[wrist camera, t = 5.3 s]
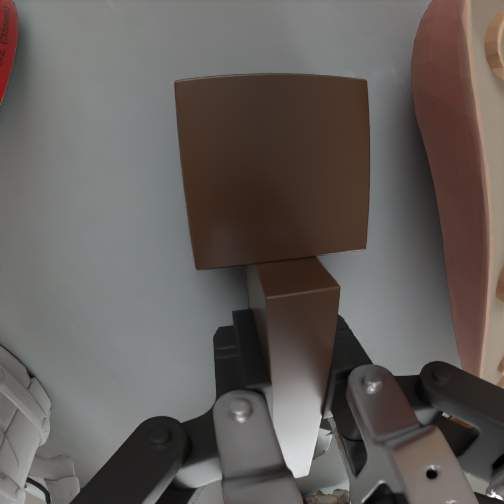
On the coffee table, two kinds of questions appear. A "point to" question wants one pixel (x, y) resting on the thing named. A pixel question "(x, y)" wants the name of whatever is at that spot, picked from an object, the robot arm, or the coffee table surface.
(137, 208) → the coffee table surface
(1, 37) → the soda can
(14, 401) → the mug
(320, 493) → the decorative flower
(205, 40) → the coffee table surface
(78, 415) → the coffee table surface
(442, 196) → the mitochondrion model
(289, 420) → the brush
